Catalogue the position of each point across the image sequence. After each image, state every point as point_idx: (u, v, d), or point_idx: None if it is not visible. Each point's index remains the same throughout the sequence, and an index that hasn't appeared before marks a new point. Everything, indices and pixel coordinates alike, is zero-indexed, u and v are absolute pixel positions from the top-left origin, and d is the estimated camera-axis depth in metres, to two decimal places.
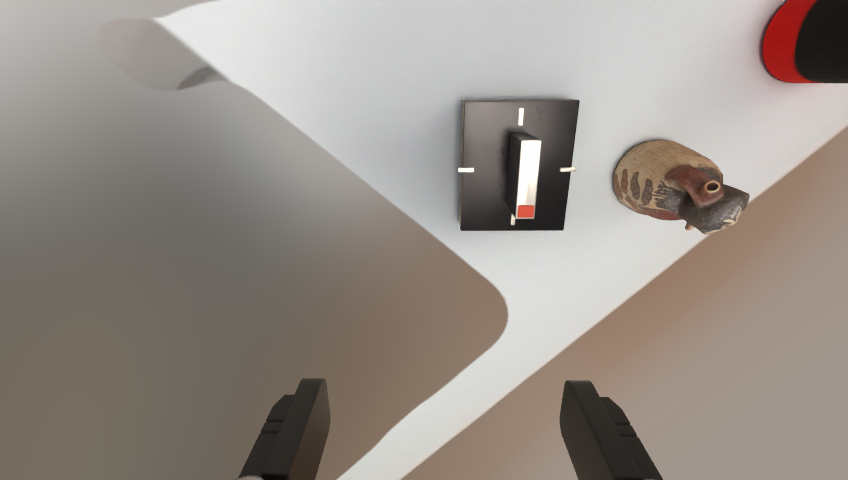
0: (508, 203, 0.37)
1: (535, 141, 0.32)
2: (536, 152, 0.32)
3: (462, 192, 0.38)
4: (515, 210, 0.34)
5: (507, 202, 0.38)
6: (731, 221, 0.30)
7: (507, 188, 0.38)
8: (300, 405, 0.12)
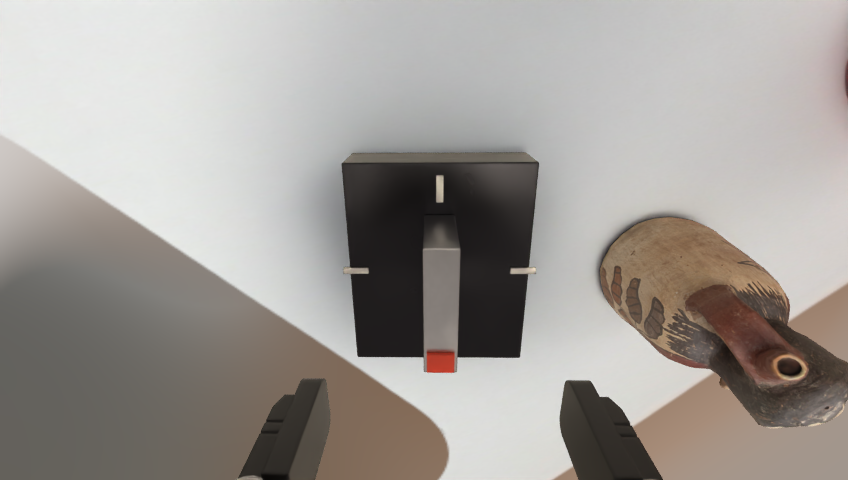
0: None
1: (449, 250, 0.17)
2: (452, 269, 0.17)
3: (354, 302, 0.24)
4: (424, 358, 0.20)
5: None
6: None
7: None
8: (300, 405, 0.12)
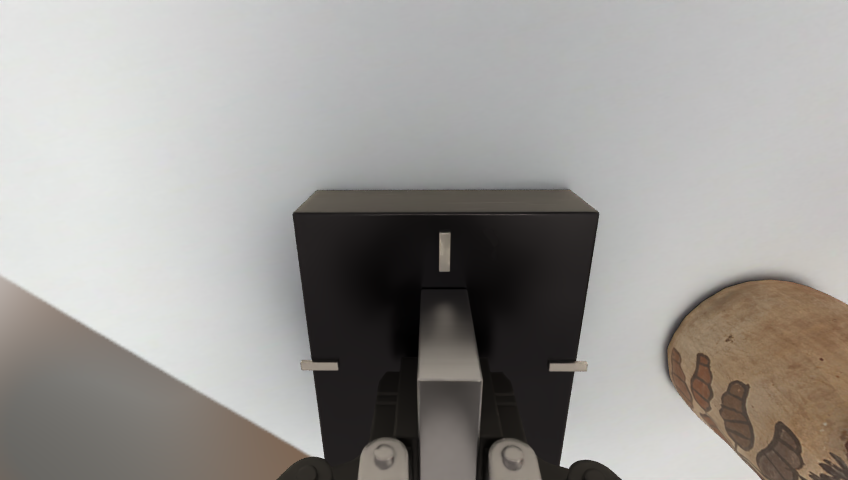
0: None
1: (463, 382, 0.10)
2: (468, 410, 0.10)
3: (319, 407, 0.16)
4: None
5: None
6: None
7: None
8: (408, 379, 0.13)
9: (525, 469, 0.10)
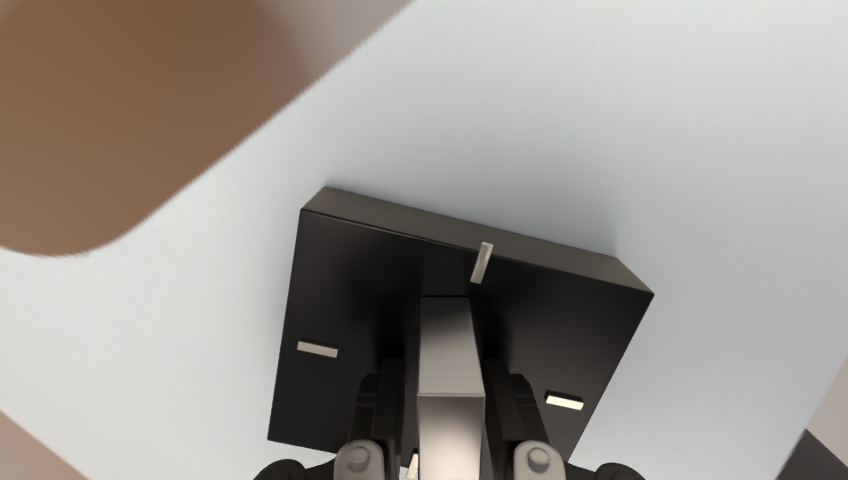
0: None
1: (464, 398, 0.09)
2: (470, 426, 0.10)
3: (418, 238, 0.13)
4: None
5: None
6: None
7: None
8: (389, 380, 0.13)
9: (552, 472, 0.10)
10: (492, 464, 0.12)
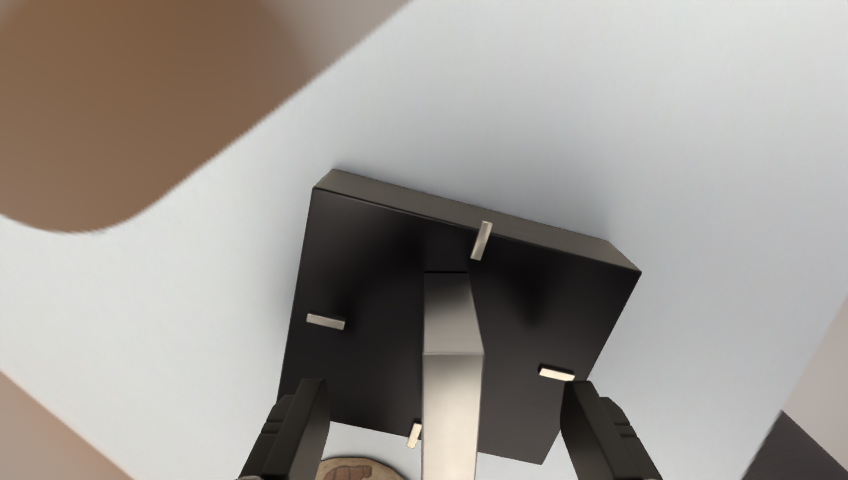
0: None
1: (466, 356, 0.10)
2: (470, 383, 0.11)
3: (422, 216, 0.14)
4: None
5: None
6: None
7: None
8: (300, 405, 0.12)
9: None
10: None
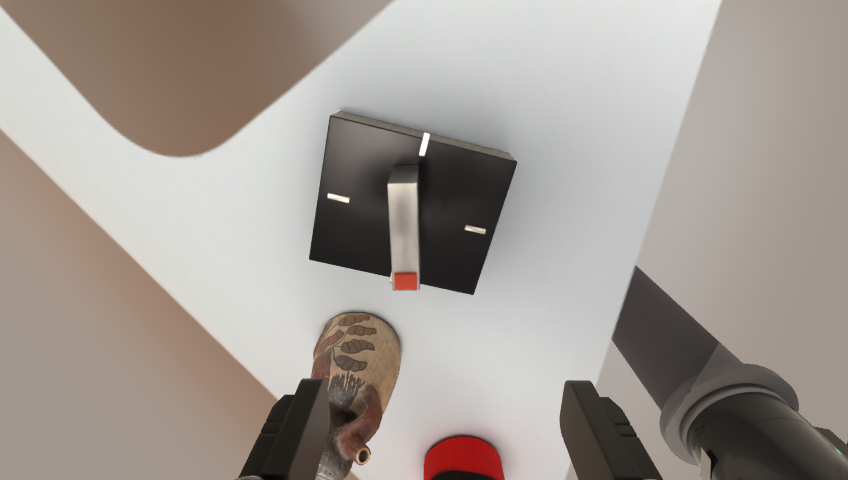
0: None
1: (408, 184, 0.21)
2: (411, 200, 0.22)
3: (391, 131, 0.25)
4: None
5: None
6: None
7: None
8: (300, 405, 0.12)
9: None
10: None
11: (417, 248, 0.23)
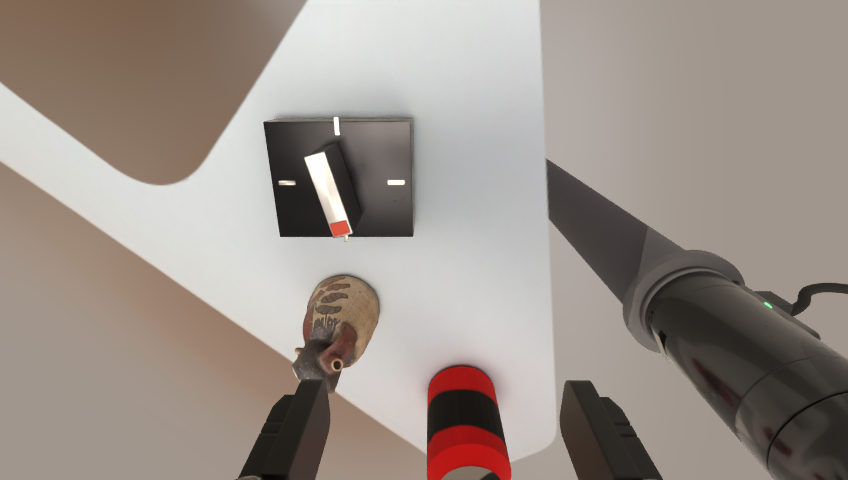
0: None
1: (318, 154, 0.29)
2: (324, 165, 0.29)
3: (310, 122, 0.33)
4: None
5: None
6: None
7: None
8: (300, 405, 0.12)
9: None
10: None
11: (340, 201, 0.30)
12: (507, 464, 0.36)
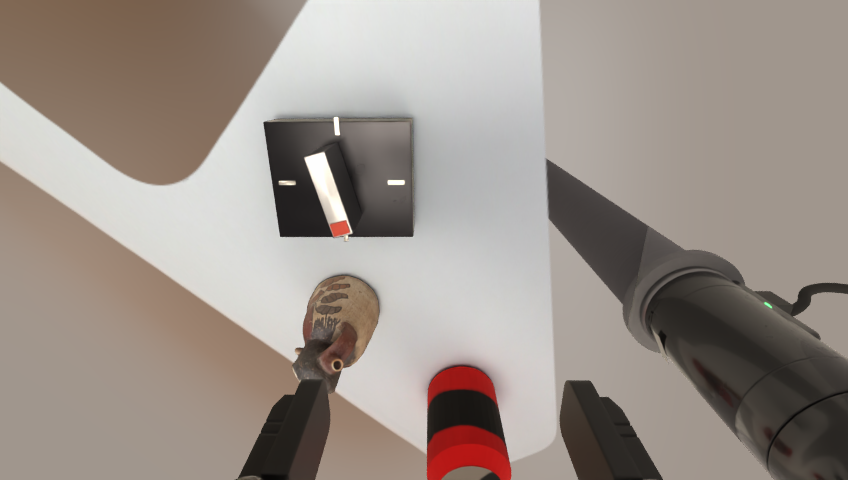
0: None
1: (318, 154, 0.29)
2: (324, 165, 0.29)
3: (310, 122, 0.33)
4: None
5: None
6: None
7: None
8: (300, 405, 0.12)
9: None
10: None
11: (340, 201, 0.30)
12: (507, 464, 0.36)
